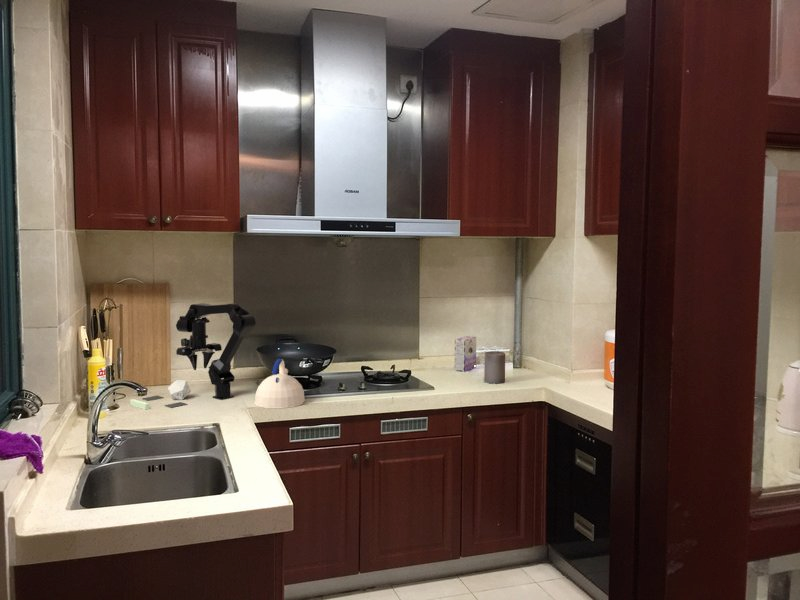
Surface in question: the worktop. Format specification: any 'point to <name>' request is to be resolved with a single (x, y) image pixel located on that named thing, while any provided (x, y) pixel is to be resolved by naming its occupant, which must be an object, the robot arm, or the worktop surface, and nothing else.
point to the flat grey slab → (146, 405)
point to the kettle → (279, 389)
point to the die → (179, 389)
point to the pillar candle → (494, 367)
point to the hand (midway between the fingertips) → (200, 369)
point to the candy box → (465, 353)
